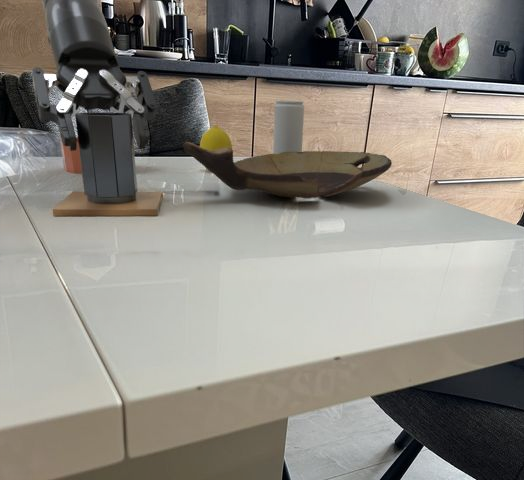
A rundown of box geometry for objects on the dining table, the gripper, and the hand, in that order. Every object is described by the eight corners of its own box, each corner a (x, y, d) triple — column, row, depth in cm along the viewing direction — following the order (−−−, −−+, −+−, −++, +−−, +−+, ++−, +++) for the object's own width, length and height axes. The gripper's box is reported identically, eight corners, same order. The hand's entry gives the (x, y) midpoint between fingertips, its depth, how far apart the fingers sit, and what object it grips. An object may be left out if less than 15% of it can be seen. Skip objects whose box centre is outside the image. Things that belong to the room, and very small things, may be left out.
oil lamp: (417, 209, 71) (426, 147, 68) (185, 211, 68) (182, 145, 64) (365, 182, 91) (370, 132, 88) (184, 182, 87) (182, 130, 84)
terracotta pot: (58, 178, 88) (53, 142, 85) (72, 169, 97) (68, 136, 95) (127, 179, 89) (124, 143, 87) (134, 169, 99) (131, 137, 96)
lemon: (196, 173, 96) (195, 124, 92) (226, 172, 98) (226, 124, 94) (205, 178, 91) (203, 126, 88) (236, 177, 93) (236, 126, 90)
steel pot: (82, 204, 66) (71, 114, 62) (91, 194, 72) (81, 112, 67) (134, 204, 67) (127, 115, 63) (139, 194, 72) (133, 112, 68)
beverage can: (269, 178, 92) (271, 100, 87) (275, 174, 97) (278, 100, 91) (297, 180, 91) (301, 101, 86) (302, 176, 96) (306, 101, 90)
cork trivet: (53, 216, 64) (52, 209, 63) (73, 197, 74) (73, 191, 74) (157, 215, 65) (156, 209, 65) (163, 197, 76) (162, 191, 75)
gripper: (18, 9, 63) (45, 123, 59) (139, 18, 69) (172, 122, 65) (22, 62, 70) (46, 168, 66) (132, 66, 76) (162, 163, 72)
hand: (109, 145), depth 65 cm, fingers open, 7 cm apart
